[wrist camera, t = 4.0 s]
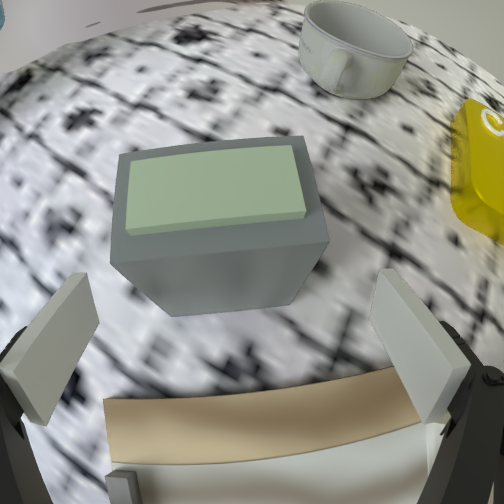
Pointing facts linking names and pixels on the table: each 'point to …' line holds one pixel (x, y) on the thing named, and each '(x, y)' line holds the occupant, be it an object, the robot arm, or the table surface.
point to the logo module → (218, 224)
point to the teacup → (351, 49)
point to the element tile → (478, 169)
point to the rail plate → (274, 446)
